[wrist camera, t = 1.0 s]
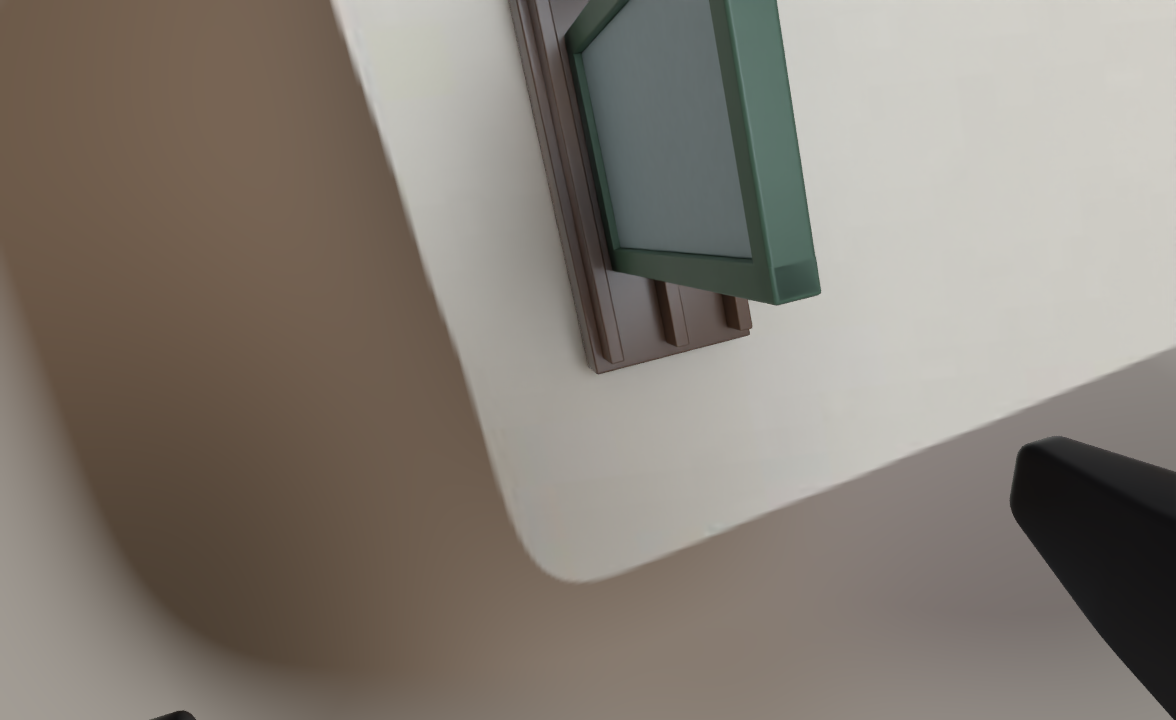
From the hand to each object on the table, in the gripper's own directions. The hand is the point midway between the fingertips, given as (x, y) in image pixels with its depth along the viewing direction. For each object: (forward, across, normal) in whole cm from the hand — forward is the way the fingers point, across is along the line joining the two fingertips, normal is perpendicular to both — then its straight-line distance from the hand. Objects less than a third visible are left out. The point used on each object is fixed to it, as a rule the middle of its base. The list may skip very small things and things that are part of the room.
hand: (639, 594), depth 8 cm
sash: (+20, -5, +2) cm, 21 cm away
